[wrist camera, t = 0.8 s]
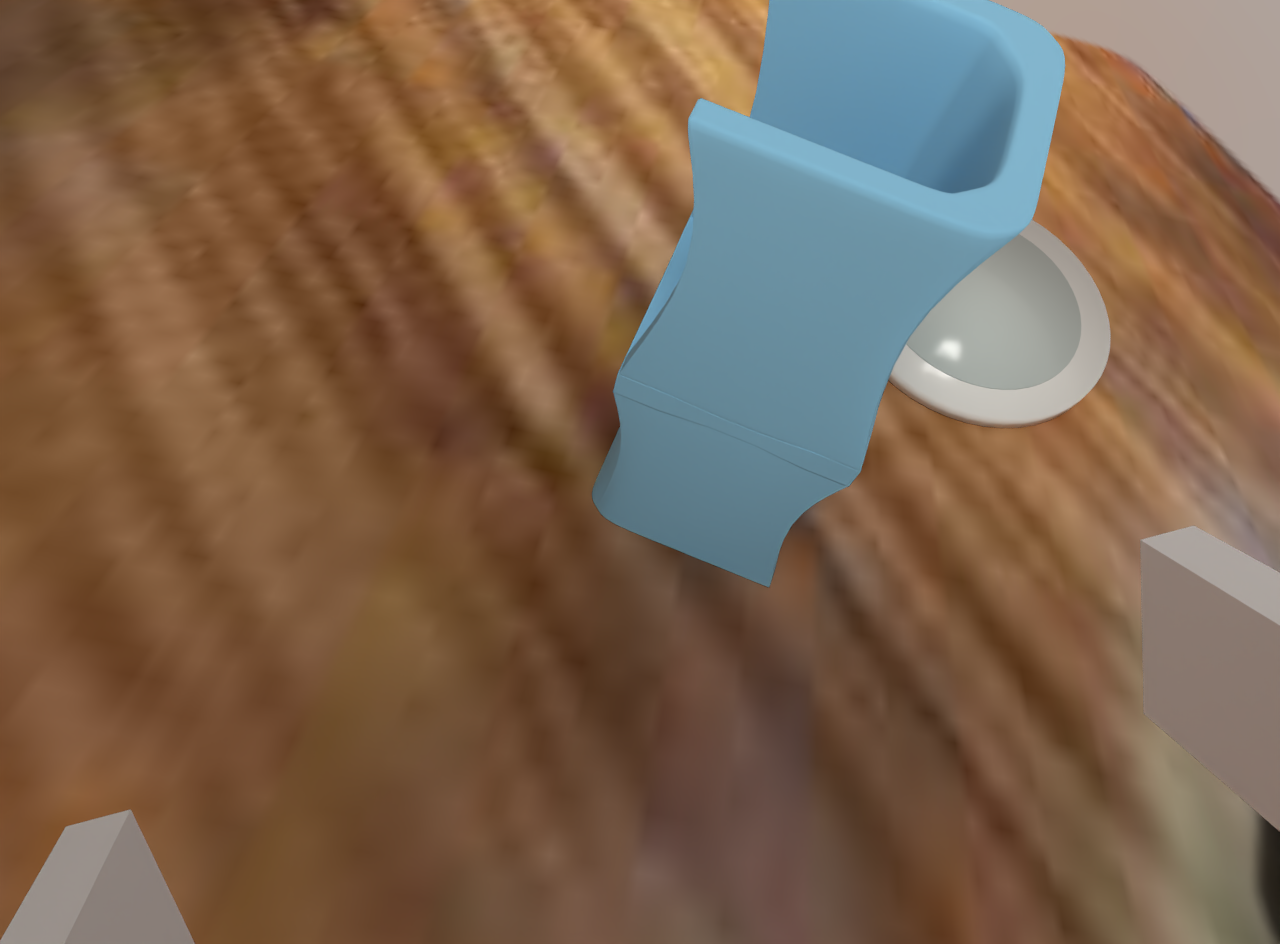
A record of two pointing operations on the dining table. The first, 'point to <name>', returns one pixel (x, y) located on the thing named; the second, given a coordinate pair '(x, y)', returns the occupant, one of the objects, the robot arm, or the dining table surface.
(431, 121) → the dining table surface
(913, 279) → the vase
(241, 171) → the dining table surface
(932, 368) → the plate
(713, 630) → the dining table surface
